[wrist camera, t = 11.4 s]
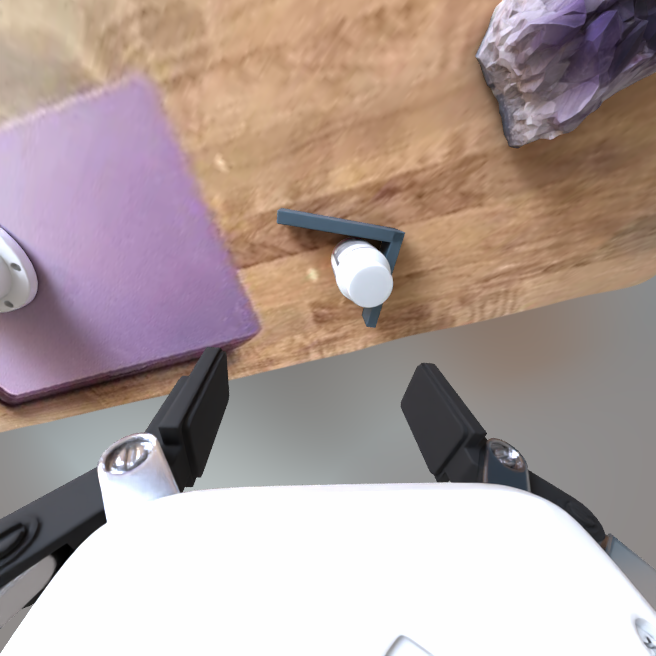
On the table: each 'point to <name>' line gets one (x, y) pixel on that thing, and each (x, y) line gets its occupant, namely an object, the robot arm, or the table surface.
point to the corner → (352, 228)
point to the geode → (563, 60)
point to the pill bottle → (361, 272)
